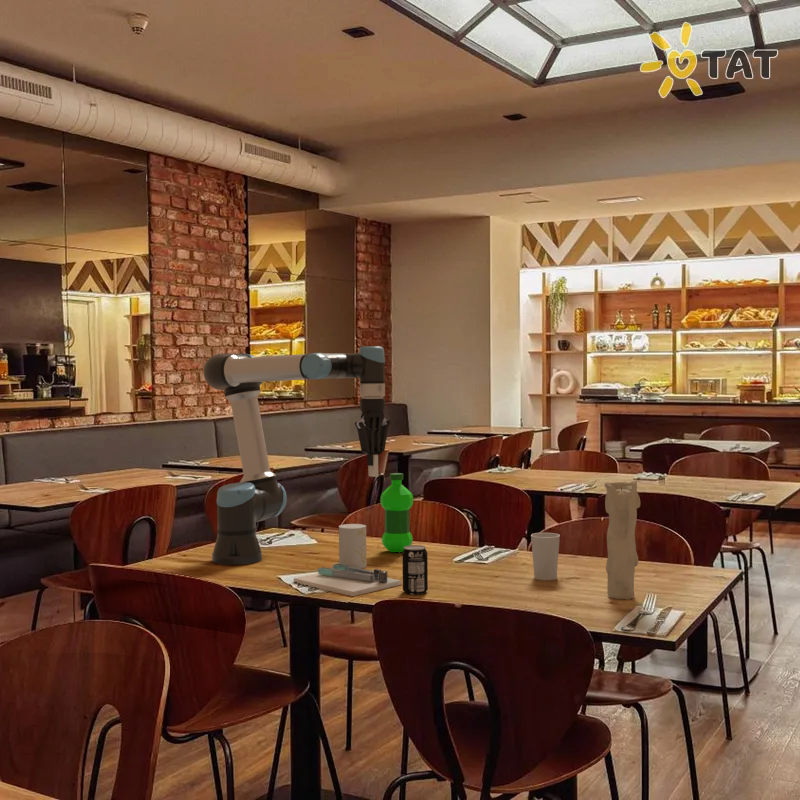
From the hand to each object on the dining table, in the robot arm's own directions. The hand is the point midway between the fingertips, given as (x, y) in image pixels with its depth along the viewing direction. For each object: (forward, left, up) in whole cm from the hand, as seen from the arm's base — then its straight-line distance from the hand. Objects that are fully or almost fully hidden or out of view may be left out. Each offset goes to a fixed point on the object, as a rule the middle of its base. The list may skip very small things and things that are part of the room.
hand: (373, 476), depth 295 cm
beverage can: (+35, -19, -27) cm, 48 cm away
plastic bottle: (-8, +18, -27) cm, 33 cm away
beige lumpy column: (+78, +12, -27) cm, 83 cm away
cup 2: (+50, +18, -27) cm, 59 cm away
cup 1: (-2, -7, -27) cm, 28 cm away
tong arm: (+13, -23, -25) cm, 36 cm away
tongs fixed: (+14, -19, -26) cm, 36 cm away
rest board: (+14, -24, -26) cm, 38 cm away
